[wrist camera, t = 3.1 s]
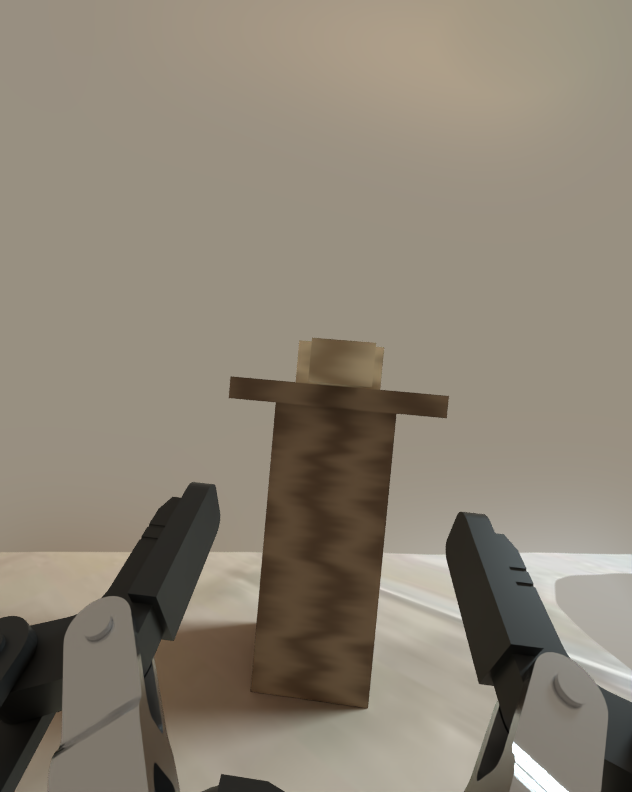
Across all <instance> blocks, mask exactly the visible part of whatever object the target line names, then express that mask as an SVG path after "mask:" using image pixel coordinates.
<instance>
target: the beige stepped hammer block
mask: <svg viewBox="0 0 632 792" xmlns="http://www.w3.org/2000/svg"><path fill="white" fill-rule="evenodd" d="M383 354H384V347H376V343H370V342H357V341H346V340H333V339H321V338H312V341H299V351H298V362H297V375H296V382H297V383H309V384H320V385H331V386H342V387H353V388H364V389H376V390H380V386H381V375H382V365H383Z"/></svg>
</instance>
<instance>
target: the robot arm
mask: <svg viewBox="0 0 632 792" xmlns="http://www.w3.org/2000/svg"><path fill="white" fill-rule="evenodd" d="M219 523H220V510H219V504H218V498H217V492H216V487H215V485H214V484H205V483H196V482H192V483H190V484H189V486H188V487H187V489H186V490H185V492H184V494H183V496H182V498H178V497H172V498H171V499H170V500H168V501H167V502H166V503H165V504H164V505H163V506H161V507H160V508H159V509H158V511H157V512H156V514H155V516H154V517H153V519H152V520H151V522H150V524H149V527H147V529H146V530H145V532H144V534H143V535H142V538H141V540H139V542H138V543H137V545H136V546H135V548H134V549H133V551H132V553H131V554H130V556H129V558H128V559H127V561H126V562H125V564H124V566H123V567H122V569H121V570H120V572H119V574H118V575H117V577H116V579H115V580H114V582H113V583H112V585H111V587H110V588H109V589H108V591H107V592H106V593H105V594H104V596H103V597H102V598H101V599H98V600H96V601H94V602H92V603H91V604H89V605H88V606H86V607H85V608H84V609H83V610H81V611H80V612H79V613H78V614H76V615H74V616H71V617H67V618H63V619H58V620H54V621H49V622H45V623H40V624H36V625H31V626H30V625H29V624H28V623H27V622H26V621H25V620H24V619H23V618H21V617H17V616H8V617H3V618H0V792H14V791H15V789H16V787H17V785H18V783H19V781H20V780H21V778H22V776H23V774H24V772H25V770H26V768H27V766H28V764H29V762H30V761H31V759H32V757H33V755H34V753H35V751H36V749H37V747H38V745H39V744H40V742H41V740H42V738H43V736H44V734H45V732H46V730H47V728H48V726H49V725H50V723H51V721H52V719H53V717H54V715H55V713H56V712H59V711H62V736H61V743H60V747H59V749H58V750H57V751H56V752H55V753H54V755H53V757H52V760H51V764H50V768H49V775H48V790H47V792H180V788H179V782H178V776H177V771H176V766H175V761H174V757H173V753H172V749H171V746H170V743H169V739H168V735H167V730H166V725H165V719H164V713H163V707H162V701H161V695H160V689H159V683H158V677H157V672H156V666H155V660H154V655H155V653H156V650H157V648H158V646H159V643H160V641H161V639H163V640H170V641H174V639H175V636H176V634H177V631H178V629H179V626H180V624H181V621H182V619H183V616H184V614H185V611H186V609H187V606H188V604H189V601H190V599H191V596H192V594H193V591H194V589H195V586H196V584H197V581H198V579H199V576H200V574H201V571H202V569H203V566H204V564H205V561H206V559H207V556H208V554H209V551H210V549H211V546H212V544H213V541H214V539H215V537H216V534H217V531H218V528H219ZM446 559H447V563H448V567H449V571H450V575H451V578H452V582H453V586H454V590H455V594H456V598H457V601H458V605H459V609H460V613H461V617H462V620H463V624H464V628H465V632H466V636H467V640H468V643H469V647H470V651H471V655H472V659H473V663H474V666H475V670H476V674H477V678H478V682H479V684H484V685H491V686H494V688H495V691H496V695H497V698H498V701H497V702H496V704H495V707H494V710H493V713H492V716H491V719H490V722H489V725H488V728H487V731H486V734H485V737H484V740H483V743H482V746H481V749H480V752H479V755H478V758H477V761H476V764H475V767H474V770H473V773H472V776H471V779H470V781H469V783H468V785H467V787H466V789H465V791H464V792H632V702H630V701H627V700H625V699H623V698H621V697H619V696H617V695H615V694H613V693H611V692H609V691H607V690H605V689H603V688H601V687H600V686H598V685H597V684H596V683H595V681H594V680H593V679H592V678H591V676H590V675H589V674H588V673H587V672H586V671H585V670H584V669H583V668H582V667H581V666H580V665H578V664H577V663H576V662H574V661H573V660H571V659H570V657H569V656H568V654H567V653H566V651H565V649H564V648H563V646H562V644H561V641H560V639H559V637H558V635H557V633H556V631H555V629H554V626H553V624H552V622H551V620H550V618H549V616H548V614H547V612H546V609H545V607H544V605H543V603H542V601H541V599H540V597H539V595H538V592H537V590H536V588H535V587H533V582H532V580H531V577H530V575H529V573H528V572H526V567H525V565H524V563H523V560H522V558H521V556H520V554H519V552H518V550H517V549H516V548H515V547H514V546H513V544H512V543H511V542H510V541H509V540H508V539H507V538H506V536H505V535H504V534H496V533H495V532H494V530H493V527H492V525H491V523H490V521H489V519H488V517H487V516H486V515H485V514H476V513H467V512H459V513H458V515H457V517H456V519H455V522H454V524H453V527H452V529H451V531H450V534H449V536H448V539H447V542H446ZM202 792H284V791H283V790H281V789H279V788H278V787H276V786H275V785H273V784H271V783H270V782H268V781H262V780H256V779H249V778H243V777H236V776H230V775H224V774H221V778H220V782H219V785H218V786H215V787H211V788H209V789H207V790H205V791H202Z"/></svg>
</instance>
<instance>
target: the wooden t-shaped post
mask: <svg viewBox="0 0 632 792" xmlns="http://www.w3.org/2000/svg"><path fill="white" fill-rule="evenodd" d="M229 398H236V399H246V400H257V401H268V402H276V407H275V418H274V429H273V441H272V452H271V464H270V476H269V487H268V500H267V511H266V522H265V533H264V546H263V556H262V568H261V579H260V591H259V602H258V614H257V625H256V637H255V648H254V660H253V671H252V683H251V692H258V693H265V694H272V695H279V696H286V697H293V698H300V699H307V700H314V701H321V702H328V703H335V704H342V705H349V706H356V707H363V708H368V702H369V691H370V681H371V671H372V660H373V650H374V640H375V629H376V619H377V609H378V598H379V588H380V578H381V567H382V557H383V547H384V536H385V526H386V516H387V505H388V495H389V483H390V474H391V463H392V454H393V443H394V432H395V423H396V414H407V415H418V416H429V417H439V418H447V409H448V399H449V396H441V395H431V394H420V393H409V392H398V391H386V390H376V389H364V388H353V387H342V386H331V385H320V384H309V383H297V382H286V381H275V380H263V379H252V378H241V377H231V379H230V391H229Z"/></svg>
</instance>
